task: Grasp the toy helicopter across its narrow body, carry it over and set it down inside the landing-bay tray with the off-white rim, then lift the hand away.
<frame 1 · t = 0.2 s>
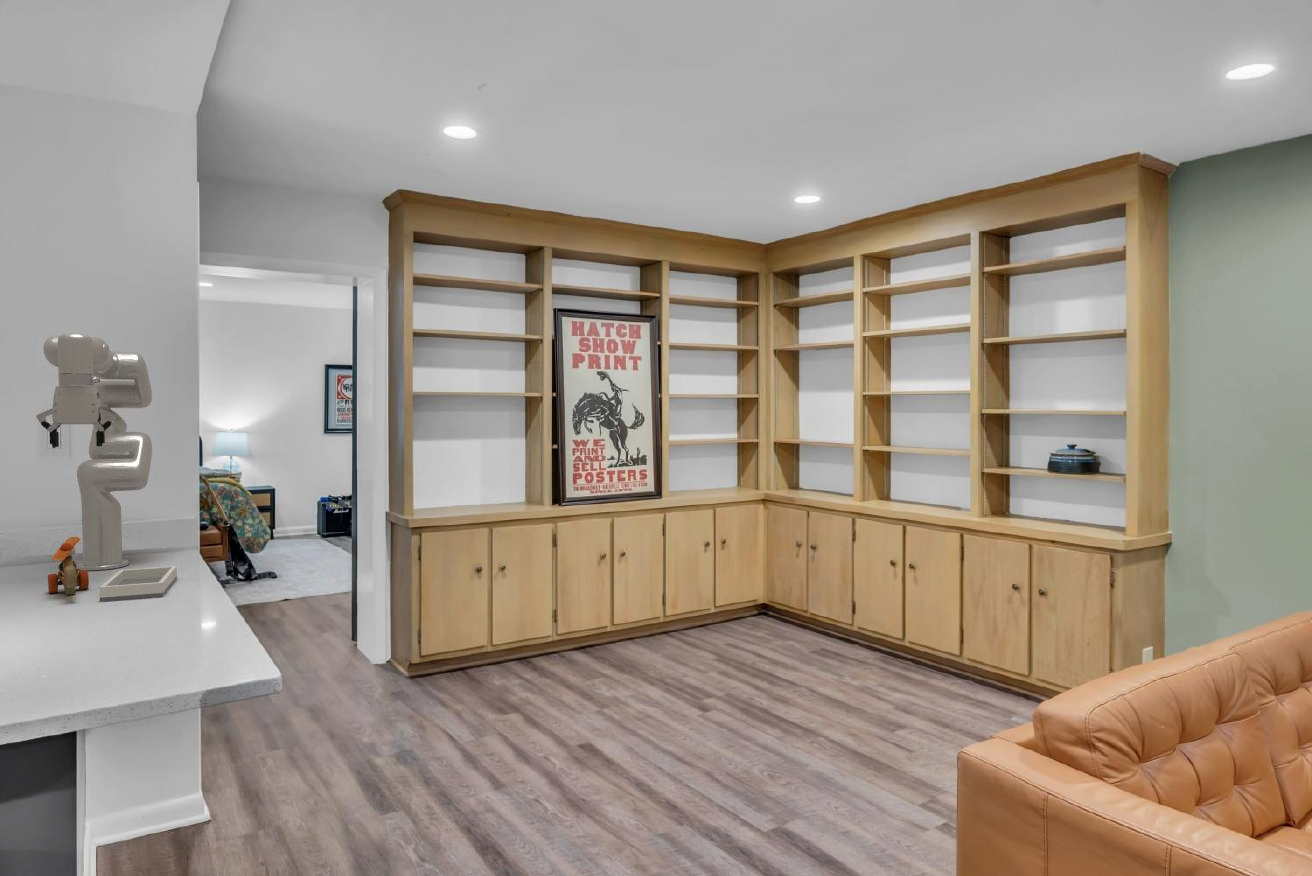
hand: (77, 446, 213), 36 cm above the countertop, tool pointing down, fingers open, 9 cm apart
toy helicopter: (69, 596, 201), on the countertop
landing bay: (140, 589, 206), on the countertop
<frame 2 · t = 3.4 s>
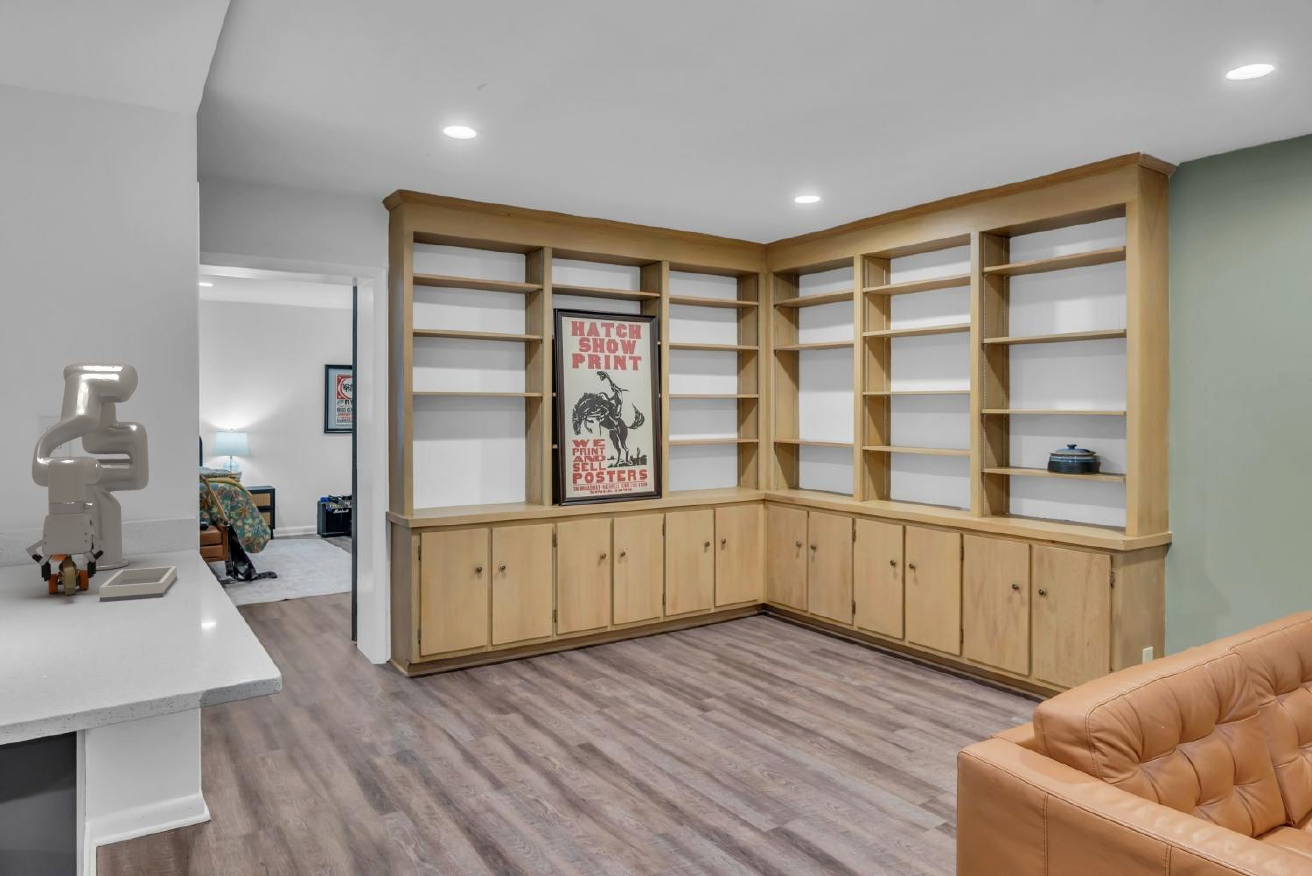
hand: (69, 578, 200), 4 cm above the countertop, tool pointing down, fingers open, 8 cm apart
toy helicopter: (69, 596, 200), on the countertop, touching gripper
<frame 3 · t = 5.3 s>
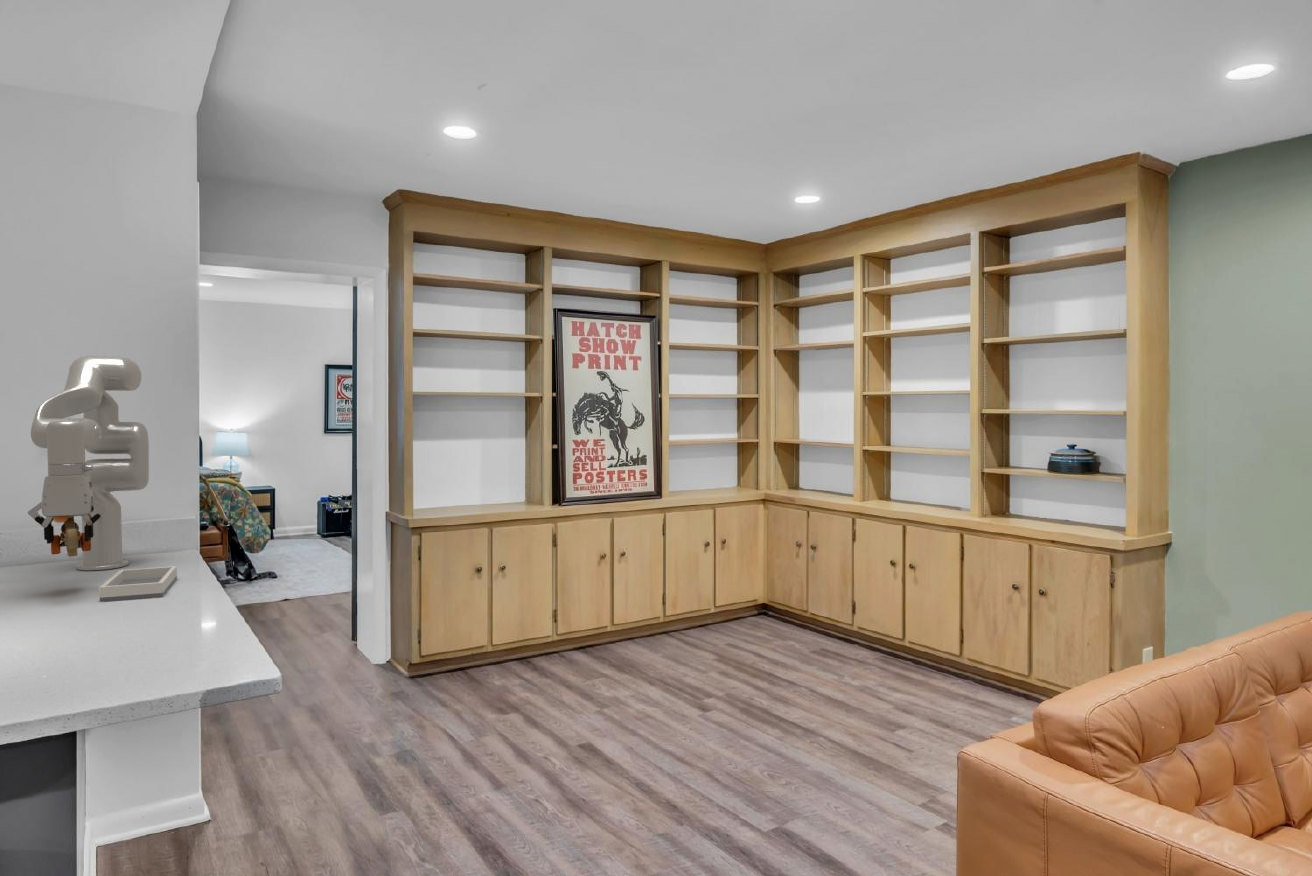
hand: (69, 541, 201), 13 cm above the countertop, tool pointing down, fingers closed on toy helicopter, 7 cm apart
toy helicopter: (72, 557, 201), point 9 cm above the countertop, touching gripper
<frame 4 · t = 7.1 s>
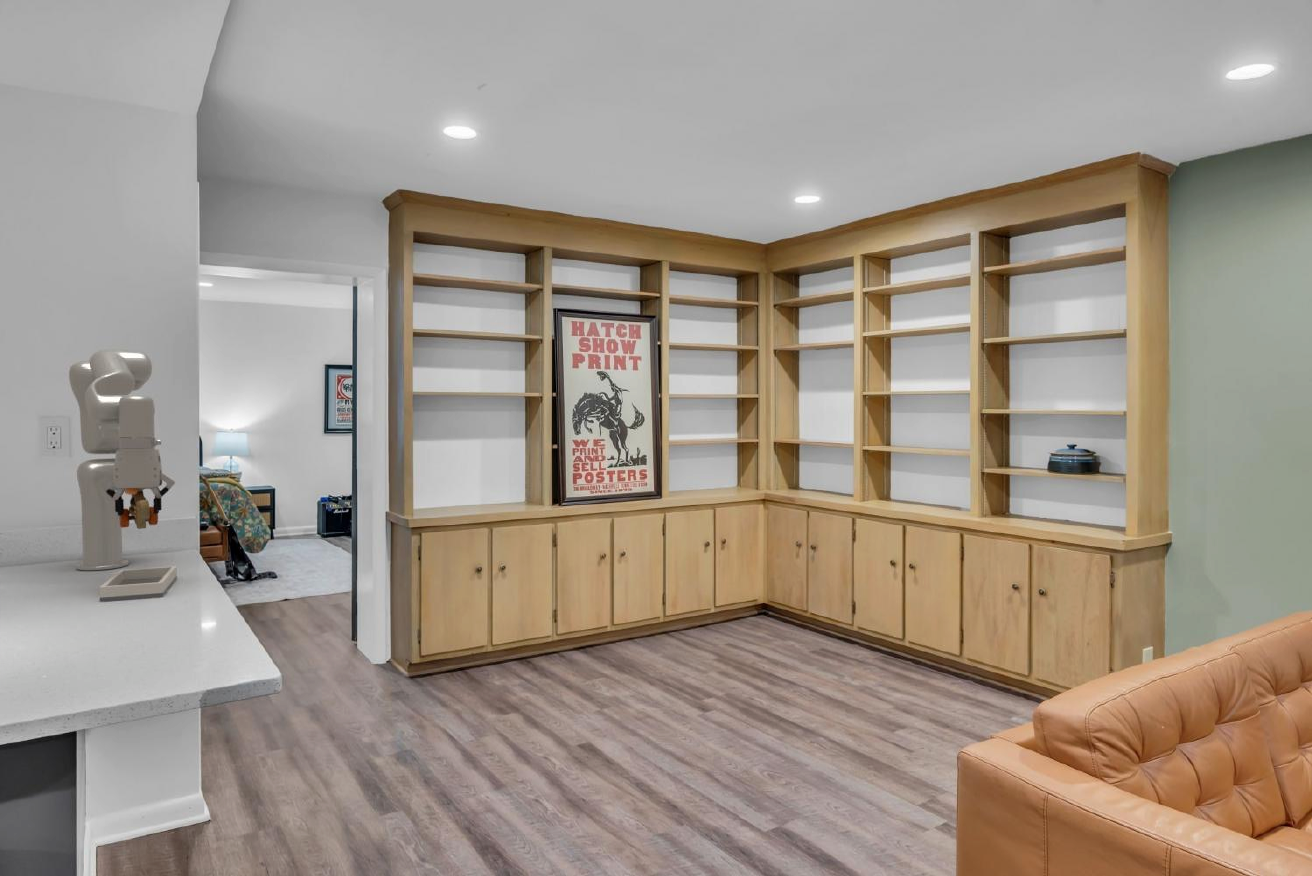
hand: (138, 513, 206), 19 cm above the countertop, tool pointing down, fingers closed on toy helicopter, 7 cm apart
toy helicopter: (141, 529, 206), point 15 cm above the countertop, touching gripper
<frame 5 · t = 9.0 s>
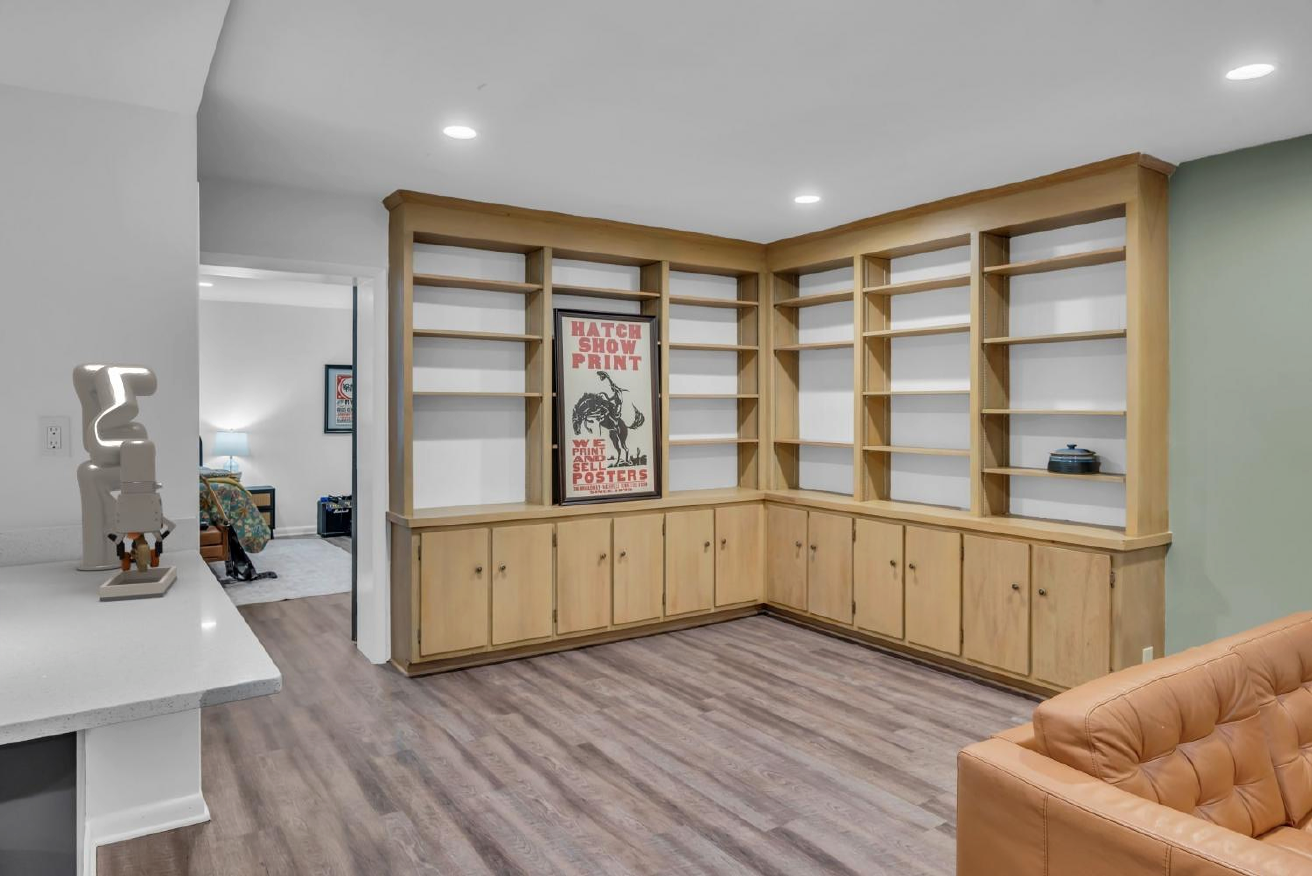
hand: (140, 557, 206), 8 cm above the countertop, tool pointing down, fingers closed on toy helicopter, 7 cm apart
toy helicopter: (142, 573, 207), point 4 cm above the countertop, touching gripper
when the fingers open (6 cm above the countertop, at t = 10.6 s): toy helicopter stays where it is, resting on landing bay.
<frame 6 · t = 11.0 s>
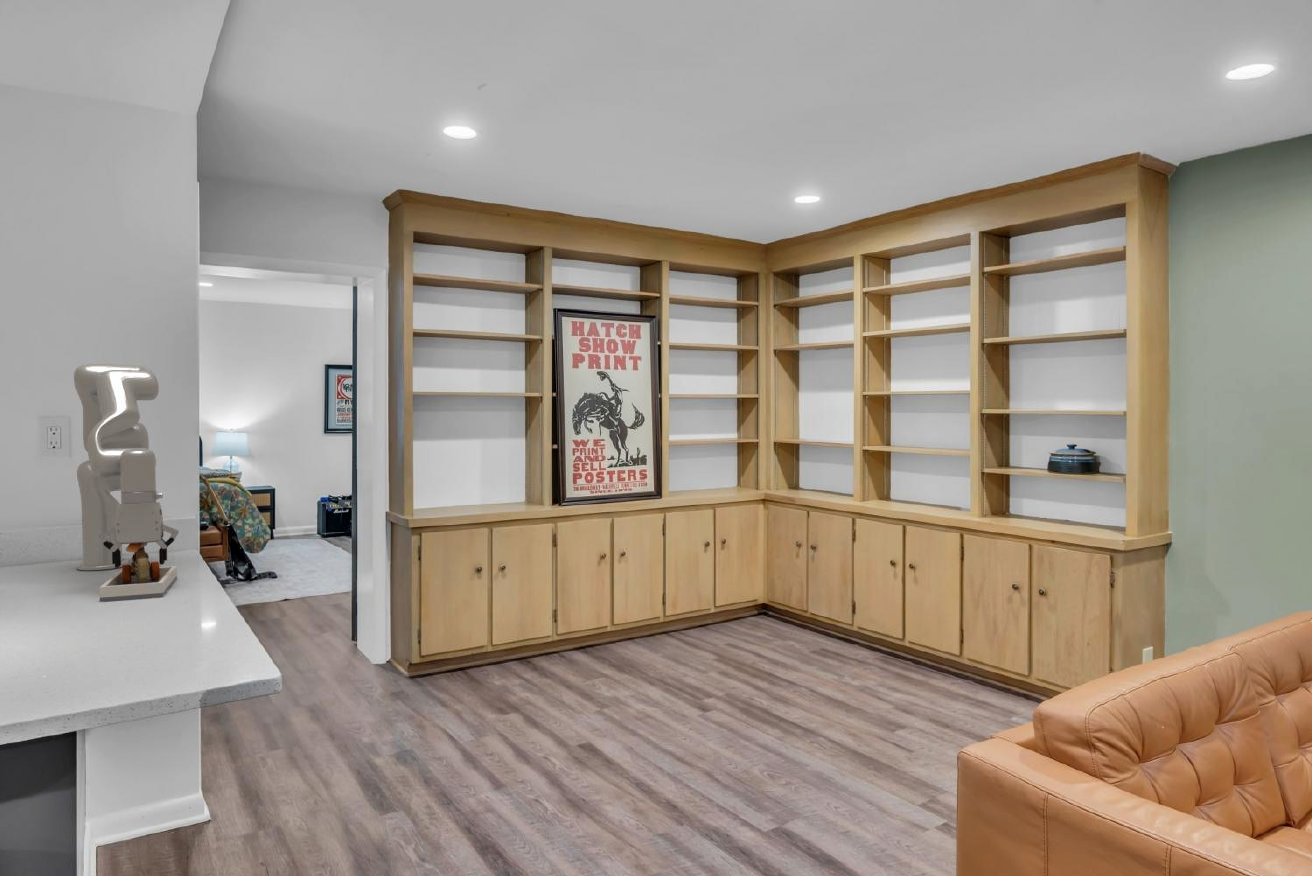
hand: (140, 565, 206), 6 cm above the countertop, tool pointing down, fingers open, 9 cm apart
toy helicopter: (142, 586, 207), point 1 cm above the countertop, touching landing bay
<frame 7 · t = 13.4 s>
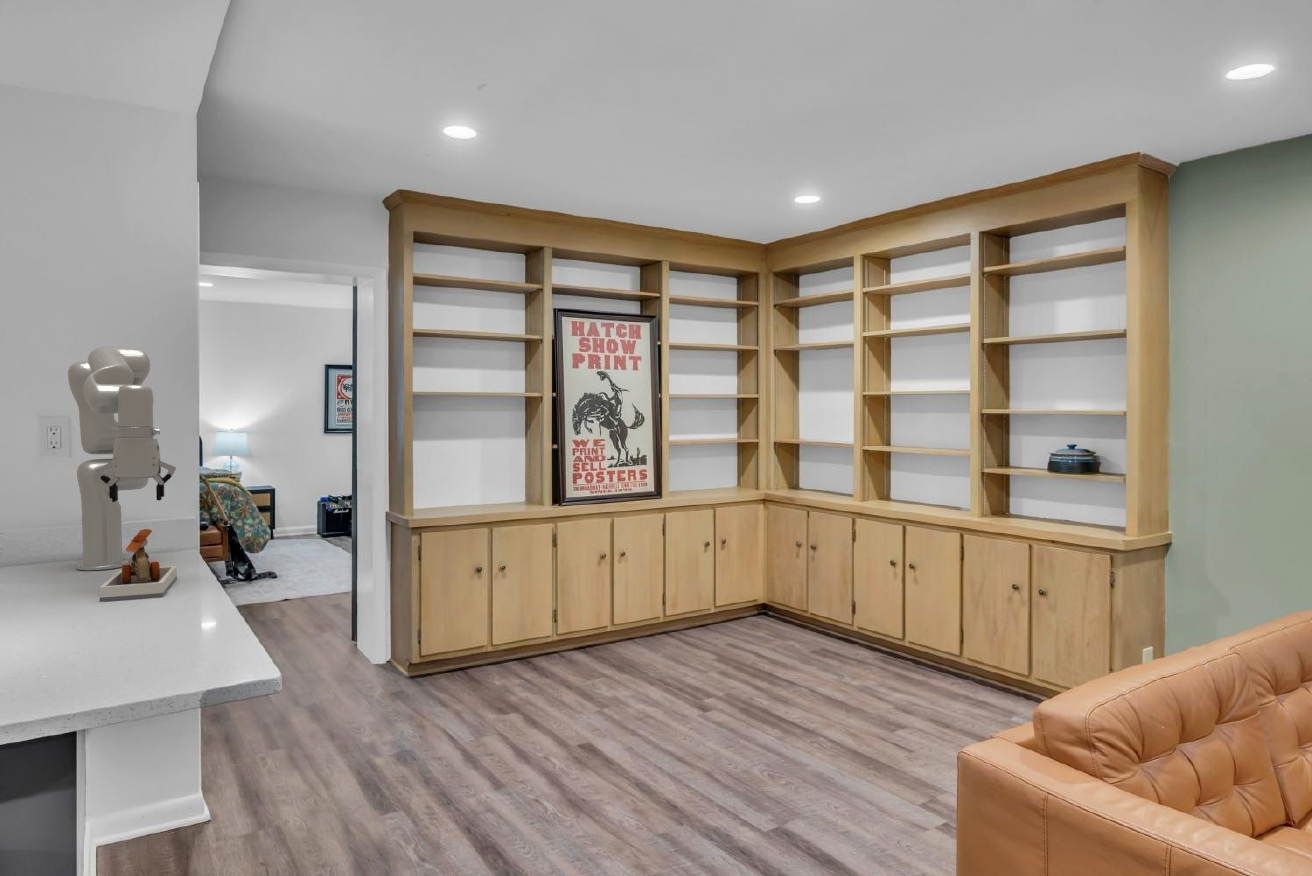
hand: (137, 500, 207), 23 cm above the countertop, tool pointing down, fingers open, 9 cm apart
nothing on the countertop moved.
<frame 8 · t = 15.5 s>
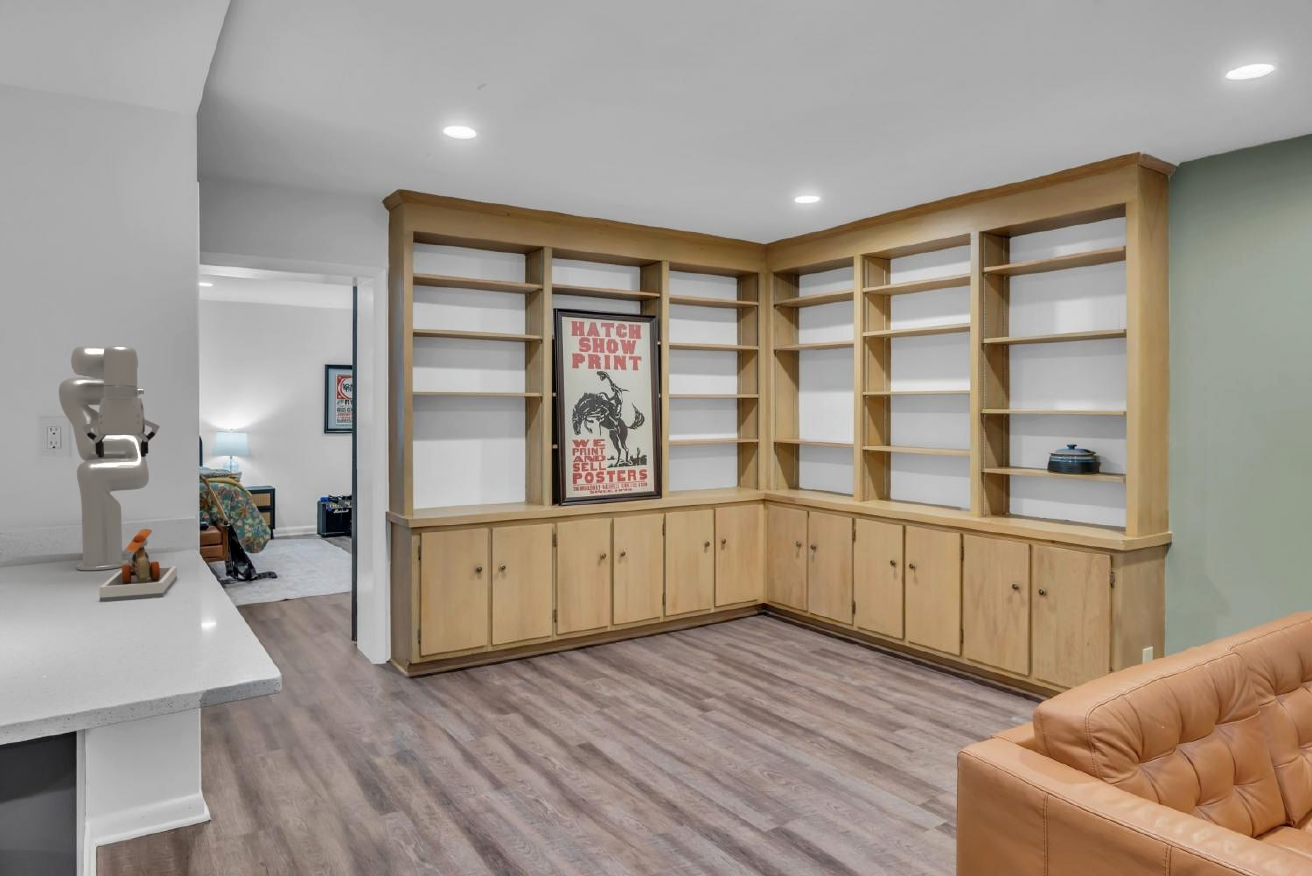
hand: (122, 457, 217), 33 cm above the countertop, tool pointing down, fingers open, 9 cm apart
nothing on the countertop moved.
at the end: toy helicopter 0.4 cm off-centre on the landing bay, point 0.8 cm above the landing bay's base; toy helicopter tilted 0°; the gripper is holding nothing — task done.
